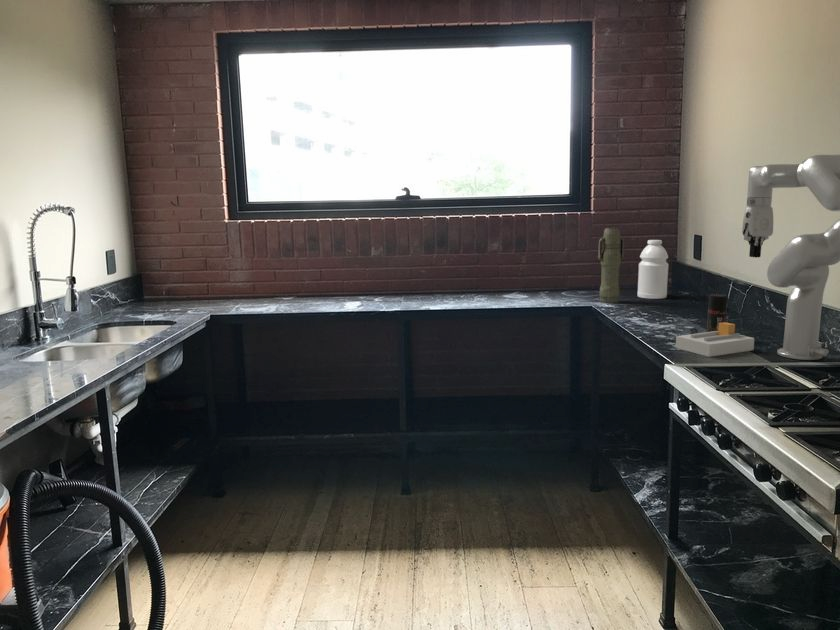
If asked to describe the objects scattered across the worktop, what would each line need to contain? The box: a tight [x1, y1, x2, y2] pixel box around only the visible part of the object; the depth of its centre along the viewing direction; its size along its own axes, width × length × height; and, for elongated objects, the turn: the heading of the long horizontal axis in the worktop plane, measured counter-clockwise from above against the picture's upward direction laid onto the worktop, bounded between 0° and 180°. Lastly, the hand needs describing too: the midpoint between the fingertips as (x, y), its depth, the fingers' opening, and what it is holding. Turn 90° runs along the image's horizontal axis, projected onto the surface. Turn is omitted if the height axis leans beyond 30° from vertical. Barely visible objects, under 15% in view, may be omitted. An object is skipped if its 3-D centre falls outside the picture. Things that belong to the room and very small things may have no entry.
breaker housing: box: [675, 331, 755, 358], centre depth 224 cm, size 14×20×5 cm
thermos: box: [597, 226, 625, 304], centre depth 319 cm, size 9×12×35 cm
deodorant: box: [706, 293, 728, 332], centre depth 242 cm, size 6×6×15 cm
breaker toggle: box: [718, 321, 736, 335], centre depth 226 cm, size 4×3×4 cm
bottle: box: [636, 239, 669, 300], centre depth 332 cm, size 14×14×28 cm
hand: (754, 256), depth 233 cm, fingers closed
